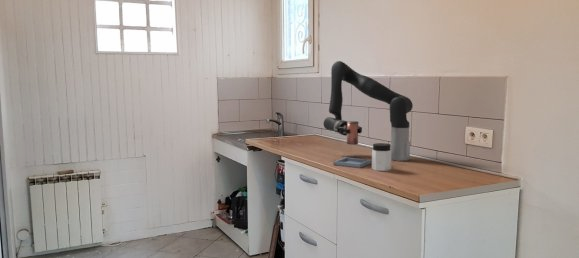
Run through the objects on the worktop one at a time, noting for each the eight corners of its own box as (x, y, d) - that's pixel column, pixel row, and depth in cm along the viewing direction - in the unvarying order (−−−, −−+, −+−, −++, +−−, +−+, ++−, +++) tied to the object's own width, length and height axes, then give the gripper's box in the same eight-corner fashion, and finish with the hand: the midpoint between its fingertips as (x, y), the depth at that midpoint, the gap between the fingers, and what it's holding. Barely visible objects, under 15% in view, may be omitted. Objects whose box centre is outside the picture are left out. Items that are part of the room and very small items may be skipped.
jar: (370, 170, 206) (371, 145, 204) (372, 167, 214) (373, 142, 212) (390, 171, 203) (390, 146, 202) (391, 168, 211) (392, 143, 210)
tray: (370, 163, 224) (370, 159, 224) (359, 167, 212) (359, 164, 212) (345, 160, 231) (345, 157, 231) (333, 165, 219) (333, 161, 219)
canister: (360, 143, 221) (360, 121, 220) (355, 144, 217) (355, 122, 215) (349, 142, 225) (349, 121, 223) (344, 144, 220) (344, 122, 218)
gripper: (330, 120, 232) (340, 124, 215) (355, 120, 235) (368, 123, 218) (329, 134, 232) (340, 139, 216) (355, 134, 236) (367, 138, 219)
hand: (354, 131), depth 217 cm, fingers closed on canister, 5 cm apart
